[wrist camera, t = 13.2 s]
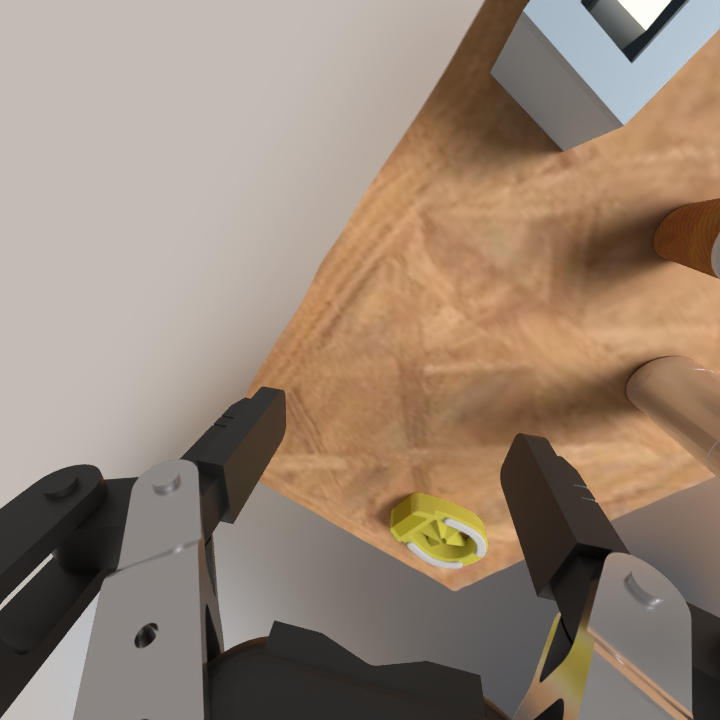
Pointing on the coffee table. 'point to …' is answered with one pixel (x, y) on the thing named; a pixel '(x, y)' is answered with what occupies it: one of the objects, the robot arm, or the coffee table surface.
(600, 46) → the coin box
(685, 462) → the coffee table surface
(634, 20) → the block
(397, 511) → the yellow low hollow piece
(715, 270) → the disposable coffee cup
